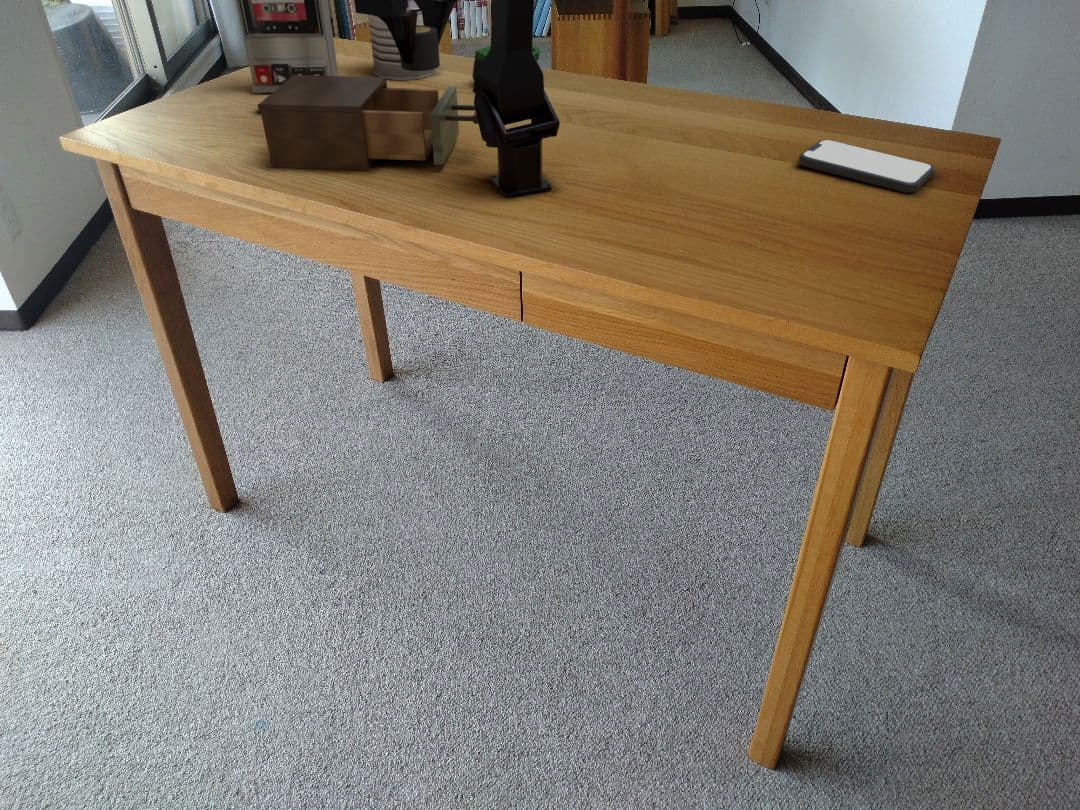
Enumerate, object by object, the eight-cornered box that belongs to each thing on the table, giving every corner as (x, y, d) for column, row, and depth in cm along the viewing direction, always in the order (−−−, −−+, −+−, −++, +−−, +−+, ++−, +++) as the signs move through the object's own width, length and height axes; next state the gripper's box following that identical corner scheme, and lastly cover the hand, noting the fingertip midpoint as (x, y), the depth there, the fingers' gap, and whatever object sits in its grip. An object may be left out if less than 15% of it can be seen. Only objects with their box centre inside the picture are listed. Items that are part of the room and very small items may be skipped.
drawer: (491, 135, 121) (489, 87, 117) (478, 166, 111) (475, 115, 107) (376, 131, 122) (370, 84, 118) (352, 162, 112) (345, 111, 108)
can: (371, 66, 154) (362, -5, 147) (431, 61, 156) (426, -9, 149) (378, 82, 145) (369, 8, 138) (442, 77, 148) (436, 4, 140)
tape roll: (442, 60, 120) (439, 25, 117) (437, 71, 115) (434, 34, 113) (404, 60, 120) (400, 25, 117) (397, 71, 116) (394, 34, 113)
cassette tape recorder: (252, 94, 140) (217, -75, 125) (261, 84, 145) (228, -80, 130) (335, 93, 140) (309, -76, 125) (340, 83, 145) (317, -81, 130)
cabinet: (392, 136, 123) (386, 77, 118) (368, 170, 112) (360, 106, 107) (304, 134, 124) (293, 74, 119) (271, 167, 113) (258, 103, 108)
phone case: (934, 176, 110) (820, 148, 118) (937, 165, 109) (823, 137, 117) (911, 197, 105) (794, 166, 113) (915, 185, 104) (796, 155, 112)
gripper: (403, -80, 118) (414, 37, 127) (313, -63, 105) (332, 66, 114) (468, -75, 113) (474, 46, 122) (382, -57, 100) (396, 77, 109)
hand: (420, 58), depth 117 cm, fingers closed on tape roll, 5 cm apart
